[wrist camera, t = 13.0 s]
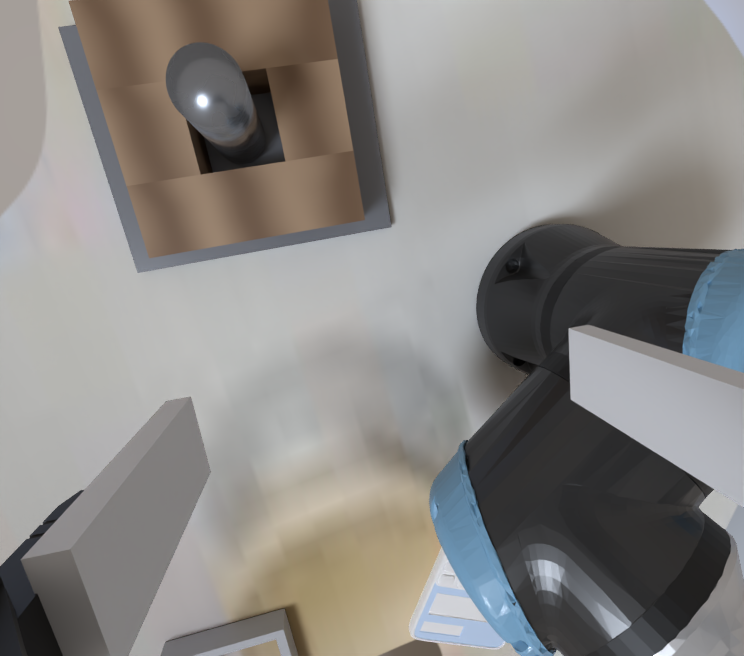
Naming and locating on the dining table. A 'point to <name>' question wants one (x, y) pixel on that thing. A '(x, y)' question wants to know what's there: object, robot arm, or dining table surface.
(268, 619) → the parts tray
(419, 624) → the calculator
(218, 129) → the peg
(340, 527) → the dining table surface
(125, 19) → the socket
